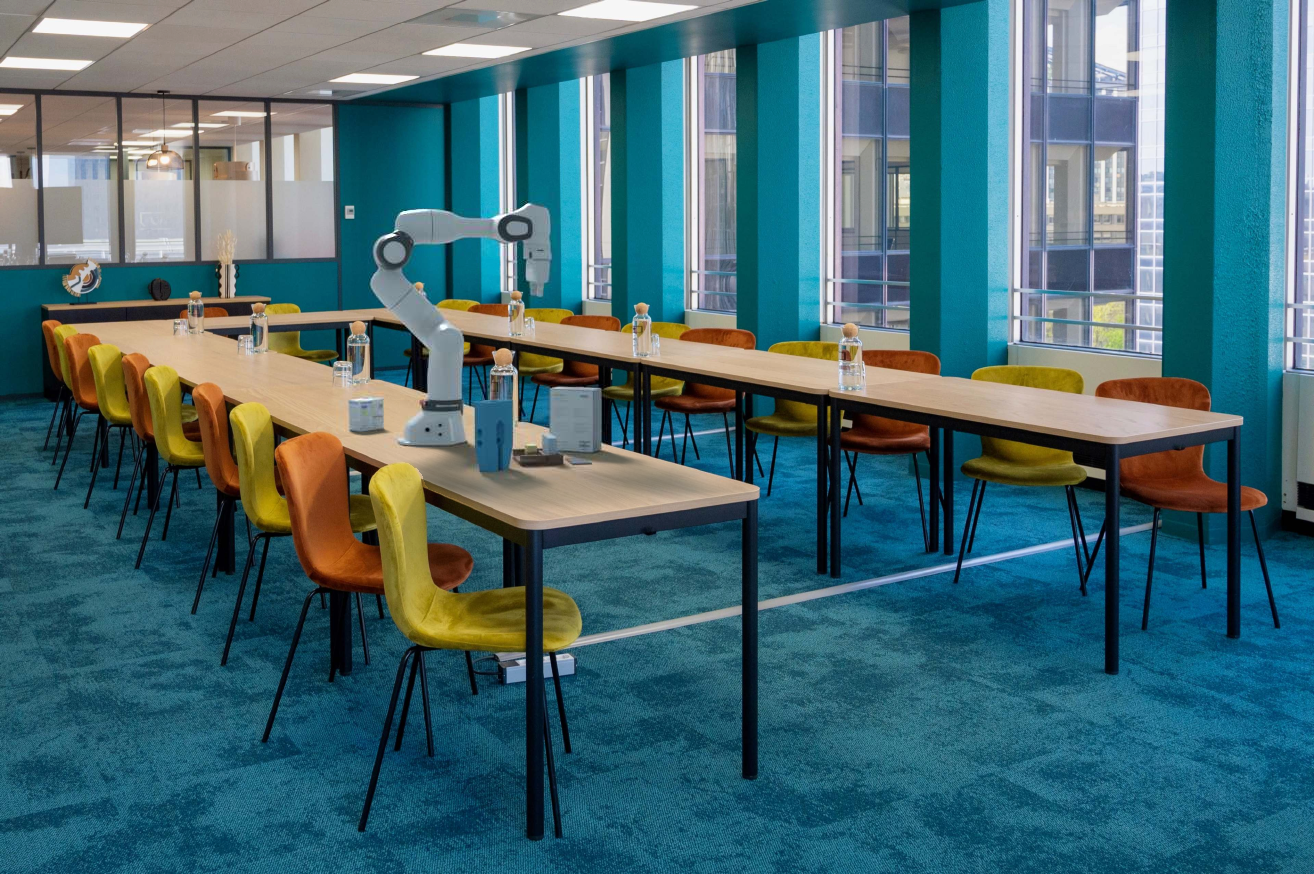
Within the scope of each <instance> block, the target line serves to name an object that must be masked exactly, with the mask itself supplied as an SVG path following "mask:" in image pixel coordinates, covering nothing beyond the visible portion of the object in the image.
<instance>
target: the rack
mask: <svg viewBox="0 0 1314 874" xmlns="http://www.w3.org/2000/svg"><path fill="white" fill-rule="evenodd" d="M511 459H512V460H514V462H515V463H517V464H518V465H519V466H520V467H528V466H529V467H531V466H533V467H534V466H554V465H555V466H557V465H565V464H564V461H565V457H564V454H563V453H561V452H560V451H559V450H557V454H549V455H546V454H545V453H543V452H542V447H537V455H525V448H513V449H512V454H511Z"/></svg>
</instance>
